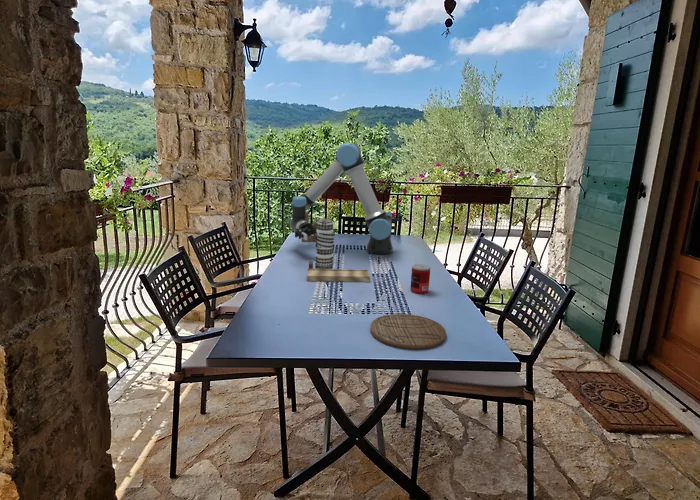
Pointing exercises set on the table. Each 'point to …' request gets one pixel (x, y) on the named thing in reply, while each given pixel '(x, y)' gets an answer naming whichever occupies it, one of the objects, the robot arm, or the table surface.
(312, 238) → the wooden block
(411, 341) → the trivet
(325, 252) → the decorative candle
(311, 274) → the oak board
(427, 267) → the canned food
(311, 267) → the brown flat block
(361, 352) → the table surface
